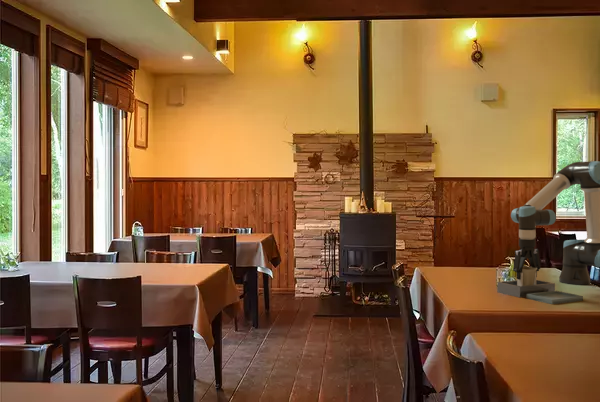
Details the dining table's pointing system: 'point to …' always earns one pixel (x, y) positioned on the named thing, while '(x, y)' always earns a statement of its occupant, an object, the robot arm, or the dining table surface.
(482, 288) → the dining table surface
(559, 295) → the tray
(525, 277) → the flower pot
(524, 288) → the metal holder
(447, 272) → the dining table surface
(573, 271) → the robot arm
